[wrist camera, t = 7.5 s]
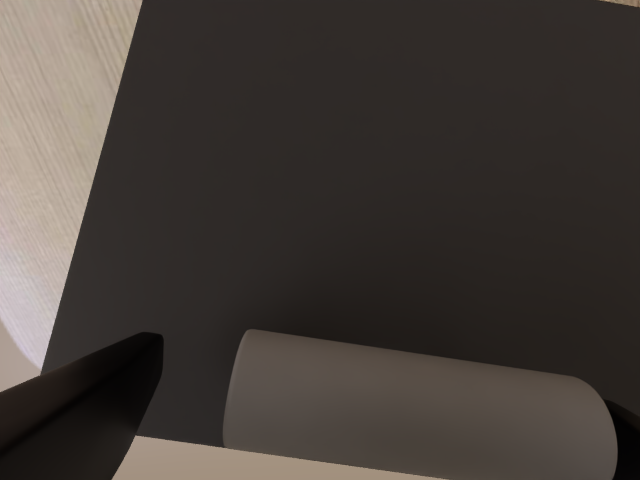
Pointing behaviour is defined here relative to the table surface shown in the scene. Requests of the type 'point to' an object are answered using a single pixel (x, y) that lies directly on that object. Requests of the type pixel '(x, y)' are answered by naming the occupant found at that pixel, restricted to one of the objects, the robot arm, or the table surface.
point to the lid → (375, 231)
